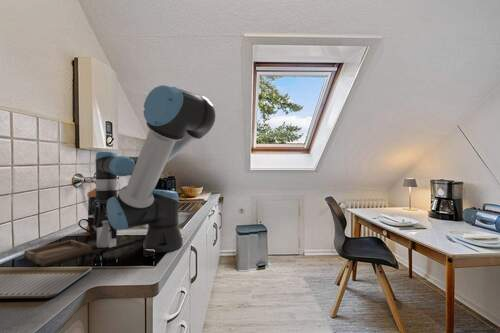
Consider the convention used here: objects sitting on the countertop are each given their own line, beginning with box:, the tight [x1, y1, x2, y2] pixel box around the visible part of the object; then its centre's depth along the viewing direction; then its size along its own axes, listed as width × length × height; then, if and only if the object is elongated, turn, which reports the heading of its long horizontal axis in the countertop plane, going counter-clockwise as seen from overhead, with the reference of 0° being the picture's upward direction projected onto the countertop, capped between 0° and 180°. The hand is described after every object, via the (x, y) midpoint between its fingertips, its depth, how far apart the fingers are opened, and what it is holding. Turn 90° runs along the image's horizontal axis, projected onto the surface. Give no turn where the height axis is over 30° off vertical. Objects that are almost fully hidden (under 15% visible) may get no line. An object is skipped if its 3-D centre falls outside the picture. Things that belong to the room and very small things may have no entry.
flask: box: [96, 220, 110, 249], centre depth 102 cm, size 7×7×10 cm
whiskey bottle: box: [85, 187, 99, 236], centre depth 121 cm, size 10×10×32 cm
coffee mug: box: [77, 214, 108, 241], centre depth 112 cm, size 12×9×10 cm
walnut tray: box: [23, 239, 93, 268], centre depth 91 cm, size 15×15×2 cm
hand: (106, 244), depth 102 cm, fingers closed on flask, 8 cm apart
